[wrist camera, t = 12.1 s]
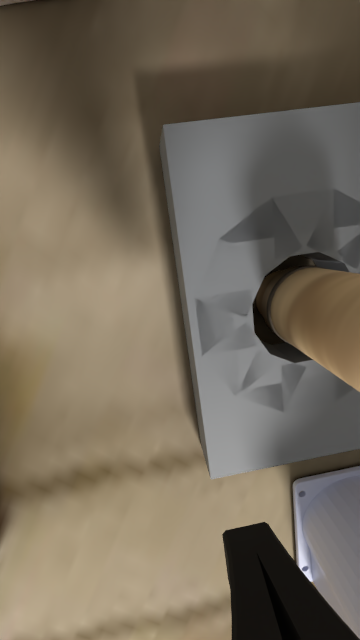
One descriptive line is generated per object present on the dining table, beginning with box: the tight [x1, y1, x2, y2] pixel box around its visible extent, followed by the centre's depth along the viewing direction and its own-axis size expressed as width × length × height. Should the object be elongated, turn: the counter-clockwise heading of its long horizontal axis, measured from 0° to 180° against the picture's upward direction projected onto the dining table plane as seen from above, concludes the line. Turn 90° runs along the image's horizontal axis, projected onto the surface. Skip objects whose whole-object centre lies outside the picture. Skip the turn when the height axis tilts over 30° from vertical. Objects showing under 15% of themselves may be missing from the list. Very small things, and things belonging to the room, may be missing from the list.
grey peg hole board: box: [159, 102, 360, 479], centre depth 17 cm, size 18×16×3 cm
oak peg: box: [256, 266, 360, 392], centre depth 14 cm, size 4×4×9 cm
